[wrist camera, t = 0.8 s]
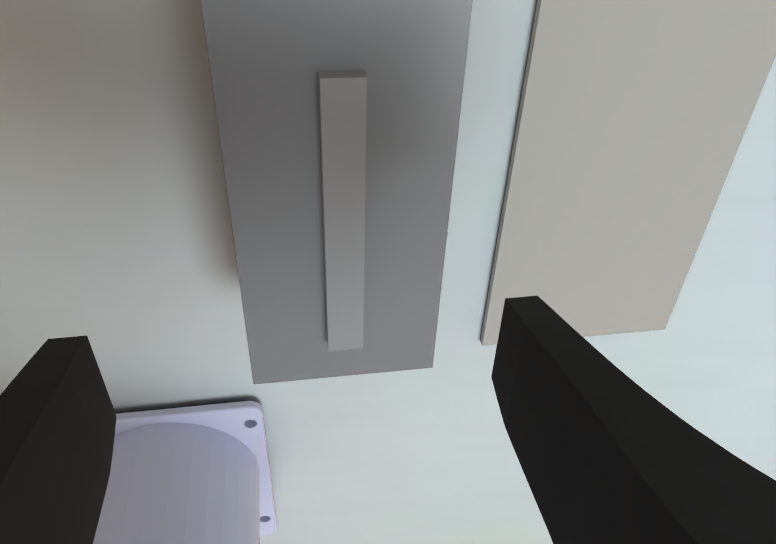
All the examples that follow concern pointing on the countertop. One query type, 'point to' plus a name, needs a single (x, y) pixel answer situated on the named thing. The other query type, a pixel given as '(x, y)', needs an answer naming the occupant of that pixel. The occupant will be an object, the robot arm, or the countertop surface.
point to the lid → (338, 175)
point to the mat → (623, 153)
